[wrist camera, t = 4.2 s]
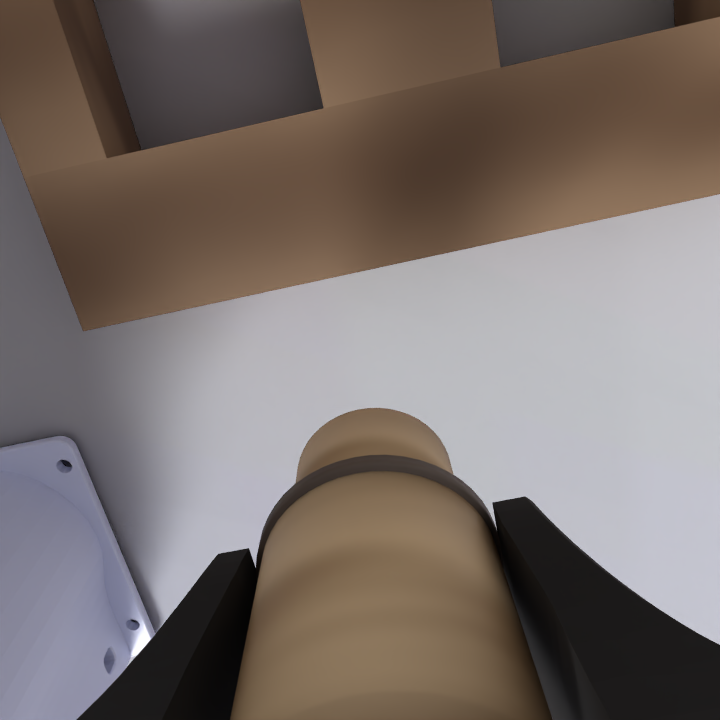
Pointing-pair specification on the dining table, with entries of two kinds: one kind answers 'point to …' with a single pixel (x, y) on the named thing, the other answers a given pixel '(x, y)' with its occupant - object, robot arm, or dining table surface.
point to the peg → (383, 589)
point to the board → (350, 150)
